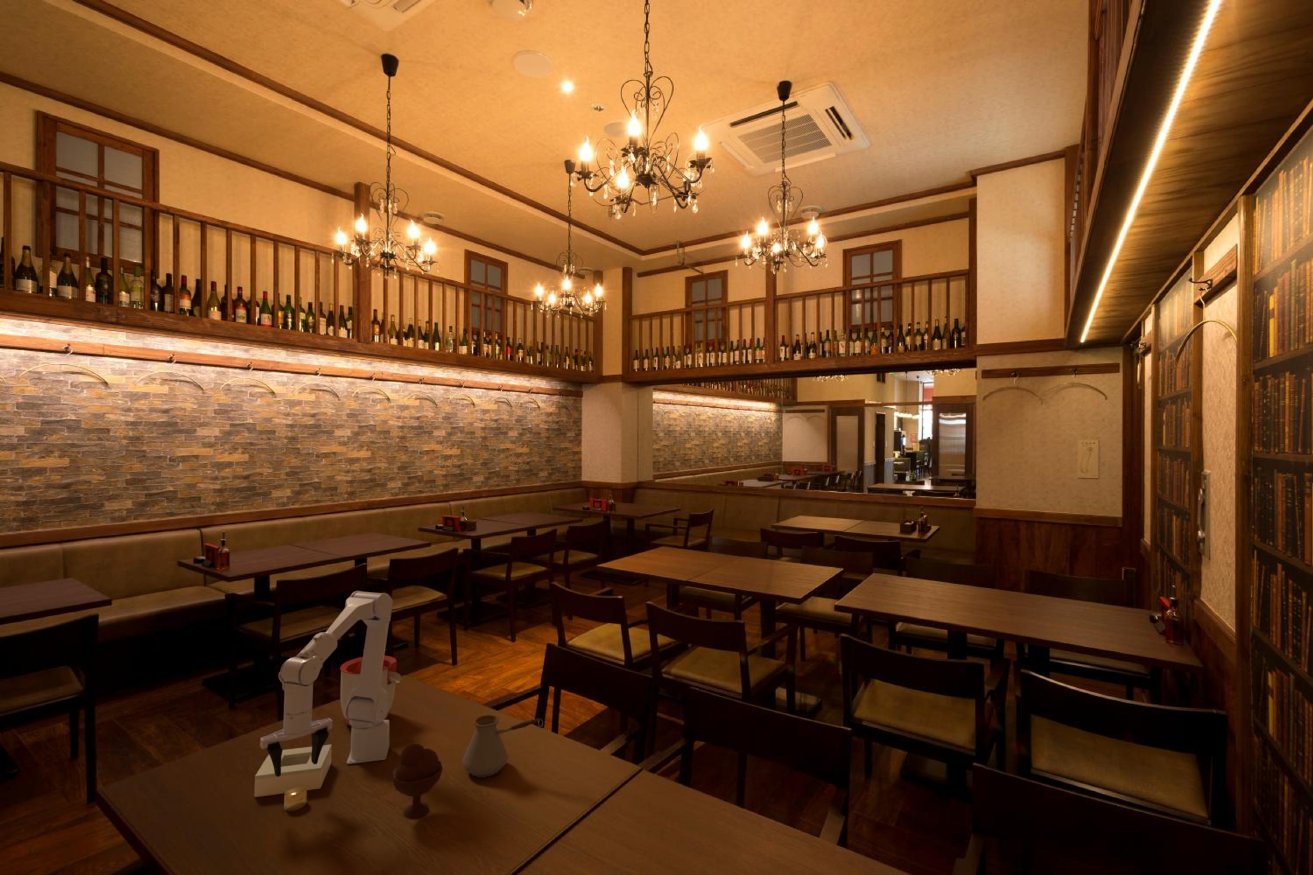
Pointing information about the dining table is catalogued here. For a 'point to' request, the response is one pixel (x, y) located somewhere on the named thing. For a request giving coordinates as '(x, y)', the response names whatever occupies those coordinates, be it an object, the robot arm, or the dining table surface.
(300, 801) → the gold rounded piece
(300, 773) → the beige square holder
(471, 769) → the coffee pot
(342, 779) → the dining table surface
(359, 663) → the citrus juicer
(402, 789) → the ice cream bowl
